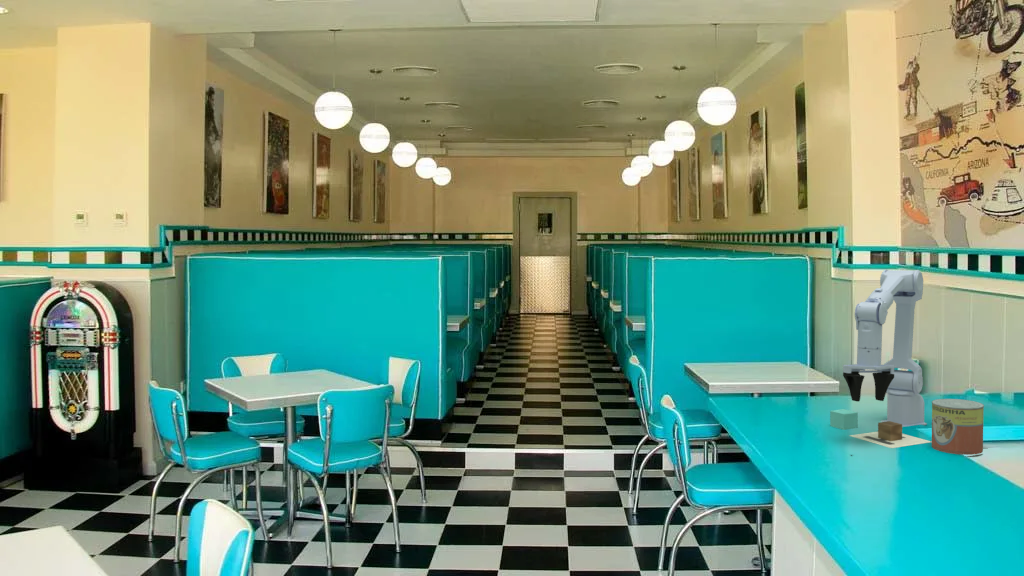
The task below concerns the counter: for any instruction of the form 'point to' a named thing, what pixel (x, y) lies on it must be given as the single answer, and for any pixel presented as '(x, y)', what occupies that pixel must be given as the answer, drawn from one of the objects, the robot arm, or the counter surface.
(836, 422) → the turquoise cube
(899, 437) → the walnut block
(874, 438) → the board
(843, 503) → the counter surface
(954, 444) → the canned food
